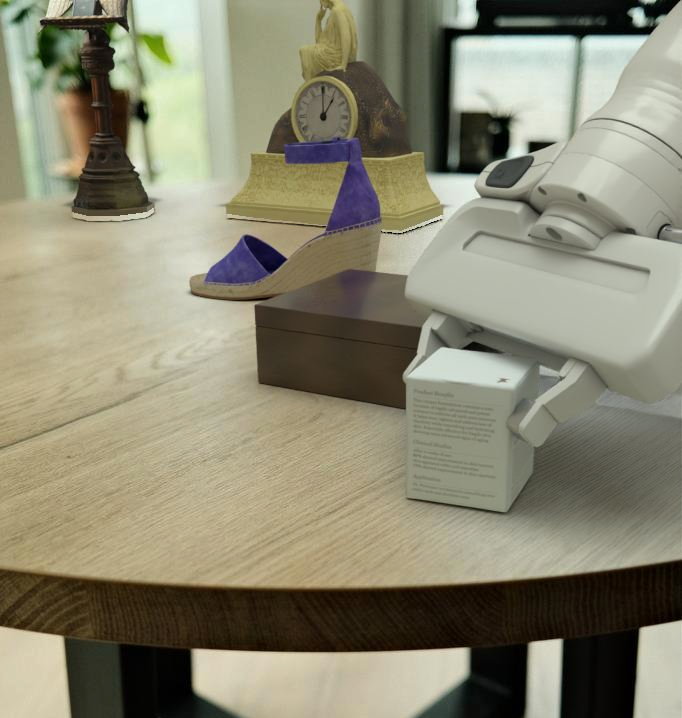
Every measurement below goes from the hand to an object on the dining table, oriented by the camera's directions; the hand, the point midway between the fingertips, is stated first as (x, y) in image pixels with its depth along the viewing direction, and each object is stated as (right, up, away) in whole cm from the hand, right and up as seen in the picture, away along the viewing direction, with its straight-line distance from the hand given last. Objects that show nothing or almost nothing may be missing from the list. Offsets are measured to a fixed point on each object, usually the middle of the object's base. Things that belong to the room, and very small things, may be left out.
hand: (463, 411), depth 57 cm
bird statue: (-40, +37, +91) cm, 106 cm away
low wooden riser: (-3, +5, +22) cm, 23 cm away
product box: (+1, -4, +2) cm, 5 cm away
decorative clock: (-8, +36, +88) cm, 95 cm away
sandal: (-13, +16, +46) cm, 51 cm away
